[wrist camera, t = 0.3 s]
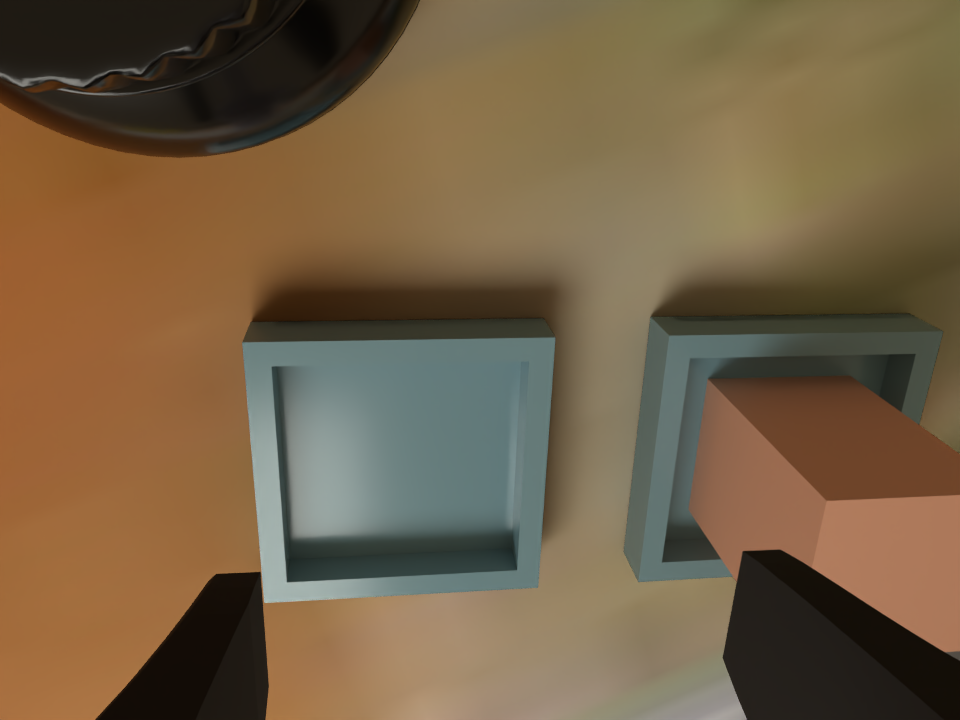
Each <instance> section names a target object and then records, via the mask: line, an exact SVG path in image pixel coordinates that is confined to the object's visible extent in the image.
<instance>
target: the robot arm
mask: <svg viewBox="0 0 960 720" xmlns="http://www.w3.org/2000/svg"><path fill="white" fill-rule="evenodd" d="M723 660H724V662H725V665H726V668H727V670H728V673H729V676H730V678H731V681H732V684H733V686H734V689H735V692H736V694H737V696H738V699H739V701H740V704H741V706H742V709H743V711H744V713H745V716H746V718H747V720H960V661H959V660H958V659H956V658H954V657H952V656H951V655H949V654H947V653H945V652H944V651H942V650H940V649H939V648H937V647H935V646H934V645H932V644H930V643H929V642H927V641H925V640H924V639H922V638H921V637H919V636H917V635H916V634H914V633H912V632H911V631H909V630H908V629H906V628H904V627H903V626H901V625H900V624H898V623H896V622H895V621H893V620H892V619H890V618H889V617H887V616H885V615H884V614H882V613H881V612H879V611H878V610H876V609H875V608H873V607H871V606H870V605H868V604H867V603H865V602H864V601H862V600H861V599H859V598H858V597H856V596H855V595H853V594H851V593H850V592H848V591H847V590H845V589H844V588H842V587H841V586H839V585H838V584H836V583H835V582H833V581H831V580H830V579H828V578H827V577H825V576H824V575H822V574H821V573H819V572H817V571H816V570H814V569H813V568H811V567H810V566H808V565H806V564H805V563H803V562H802V561H800V560H798V559H796V558H795V557H793V556H791V555H790V554H788V553H786V552H784V551H782V550H780V549H778V550H755V551H743V552H742V557H741V562H740V568H739V573H738V579H737V584H736V589H735V595H734V600H733V606H732V611H731V616H730V622H729V627H728V633H727V638H726V643H725V649H724V654H723ZM268 688H269V683H268V669H267V656H266V642H265V629H264V615H263V601H262V588H261V574H260V572H251V573H228V574H216V575H215V576H214V577H212V578H211V579H210V580H209V581H208V583H207V584H206V585H205V587H204V588H203V590H202V591H201V592H200V594H199V595H198V597H197V598H196V599H195V601H194V602H193V603H192V605H191V606H190V607H189V609H188V610H187V611H186V613H185V614H184V615H183V617H182V618H181V619H180V621H179V622H178V623H177V625H176V626H175V627H174V628H173V630H172V631H171V632H170V634H169V635H168V636H167V637H166V639H165V640H164V641H163V642H162V644H161V645H160V646H159V647H158V649H157V650H156V651H155V652H154V653H153V655H152V656H151V657H150V658H149V659H148V661H147V662H146V663H145V664H144V665H143V667H142V668H141V669H140V670H139V672H138V673H137V674H136V675H135V676H134V678H133V679H132V680H131V681H130V682H129V683H128V684H127V686H126V687H125V688H124V689H123V690H122V691H121V692H120V693H119V694H118V696H117V697H116V698H115V699H114V700H113V701H112V702H111V703H110V704H109V705H108V706H107V707H106V709H105V710H104V711H103V712H102V713H101V714H100V715H99V716H98V717H97V718H96V719H95V720H265V718H266V708H267V698H268Z"/></svg>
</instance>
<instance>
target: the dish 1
mask: <svg viewBox="0 0 960 720" xmlns="http://www.w3.org/2000/svg"><path fill="white" fill-rule="evenodd" d="M242 344H243V356H244V368H245V380H246V391H247V403H248V415H249V427H250V439H251V450H252V462H253V474H254V486H255V497H256V509H257V521H258V533H259V544H260V556H261V568H262V580H263V591H264V603H273V602H290V601H308V600H326V599H344V598H362V597H379V596H397V595H415V594H433V593H451V592H468V591H486V590H504V589H522V588H538V582H539V567H540V553H541V538H542V524H543V510H544V495H545V481H546V466H547V452H548V438H549V423H550V409H551V395H552V380H553V366H554V351H555V336H554V334H553V333H552V331H551V329H550V328H549V326H548V324H547V323H546V321H545V319H544V318H519V319H441V320H362V321H283V322H250V325H249V327H248V330H247V332H246V335H245V337H244V340H243V342H242Z"/></svg>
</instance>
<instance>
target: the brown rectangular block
mask: <svg viewBox="0 0 960 720" xmlns="http://www.w3.org/2000/svg"><path fill="white" fill-rule="evenodd" d="M688 510H689V511H690V513H691V514H692V516H693V517H694V519H695V520H696V522H697V523H698V525H699V526H700V528H701V529H702V531H703V532H704V534H705V535H706V537H707V538H708V540H709V541H710V543H711V544H712V546H713V547H714V549H715V550H716V552H717V553H718V555H719V556H720V558H721V559H722V561H723V562H724V564H725V565H726V567H727V568H728V570H729V571H730V573H731V574H732V576H733V577H734V579H735V580H736V582H737V579H738V573H739V568H740V562H741V557H742V552H743V551H755V550H778V549H780V550H782V551H784V552H786V553H788V554H790V555H791V556H793V557H795V558H796V559H798V560H800V561H802V562H803V563H805V564H806V565H808V566H810V567H811V568H813V569H814V570H816V571H817V572H819V573H821V574H822V575H824V576H825V577H827V578H828V579H830V580H831V581H833V582H835V583H836V584H838V585H839V586H841V587H842V588H844V589H845V590H847V591H848V592H850V593H851V594H853V595H855V596H856V597H858V598H859V599H861V600H862V601H864V602H865V603H867V604H868V605H870V606H871V607H873V608H875V609H876V610H878V611H879V612H881V613H882V614H884V615H885V616H887V617H889V618H890V619H892V620H893V621H895V622H896V623H898V624H900V625H901V626H903V627H904V628H906V629H908V630H909V631H911V632H912V633H914V634H916V635H917V636H919V637H921V638H922V639H924V640H925V641H927V642H929V643H930V644H932V645H934V646H935V647H937V648H939V649H940V650H942V651H944V652H954V651H960V454H959V453H957V452H956V451H955V450H953V449H952V448H950V447H949V446H948V445H946V444H945V443H943V442H942V441H941V440H939V439H938V438H936V437H935V436H934V435H932V434H931V433H929V432H928V431H927V430H925V429H924V428H922V427H921V426H920V425H918V424H917V423H916V422H914V421H913V420H911V419H910V418H909V417H907V416H906V415H904V414H903V413H902V412H900V411H899V410H897V409H896V408H895V407H893V406H892V405H890V404H889V403H888V402H886V401H885V400H883V399H882V398H881V397H879V396H878V395H876V394H875V393H874V392H872V391H871V390H869V389H868V388H867V387H865V386H864V385H862V384H861V383H860V382H858V381H857V380H855V379H854V378H853V377H851V376H807V377H764V378H720V379H708V380H707V387H706V394H705V400H704V407H703V414H702V421H701V427H700V434H699V441H698V448H697V455H696V461H695V468H694V475H693V482H692V488H691V495H690V502H689V509H688Z"/></svg>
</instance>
